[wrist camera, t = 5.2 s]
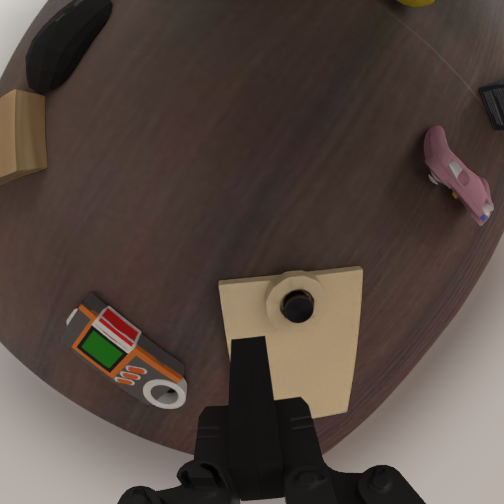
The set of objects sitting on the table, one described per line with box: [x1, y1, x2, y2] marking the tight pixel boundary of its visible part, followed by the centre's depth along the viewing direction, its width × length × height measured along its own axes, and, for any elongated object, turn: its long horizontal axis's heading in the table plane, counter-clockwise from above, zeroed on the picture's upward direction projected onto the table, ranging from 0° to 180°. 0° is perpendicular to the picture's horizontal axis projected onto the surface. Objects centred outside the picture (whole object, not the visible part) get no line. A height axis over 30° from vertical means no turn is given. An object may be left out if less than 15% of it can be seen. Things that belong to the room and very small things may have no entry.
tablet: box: [218, 266, 363, 418], centre depth 28 cm, size 13×20×2 cm, turn 5°
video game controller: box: [424, 125, 494, 226], centre depth 22 cm, size 10×5×7 cm, turn 59°
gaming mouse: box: [26, 0, 113, 93], centre depth 16 cm, size 6×15×4 cm, turn 145°
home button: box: [283, 291, 314, 323], centre depth 24 cm, size 2×2×1 cm
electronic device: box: [59, 292, 187, 409], centre depth 27 cm, size 7×3×15 cm
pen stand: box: [0, 89, 48, 184], centre depth 19 cm, size 8×8×5 cm
